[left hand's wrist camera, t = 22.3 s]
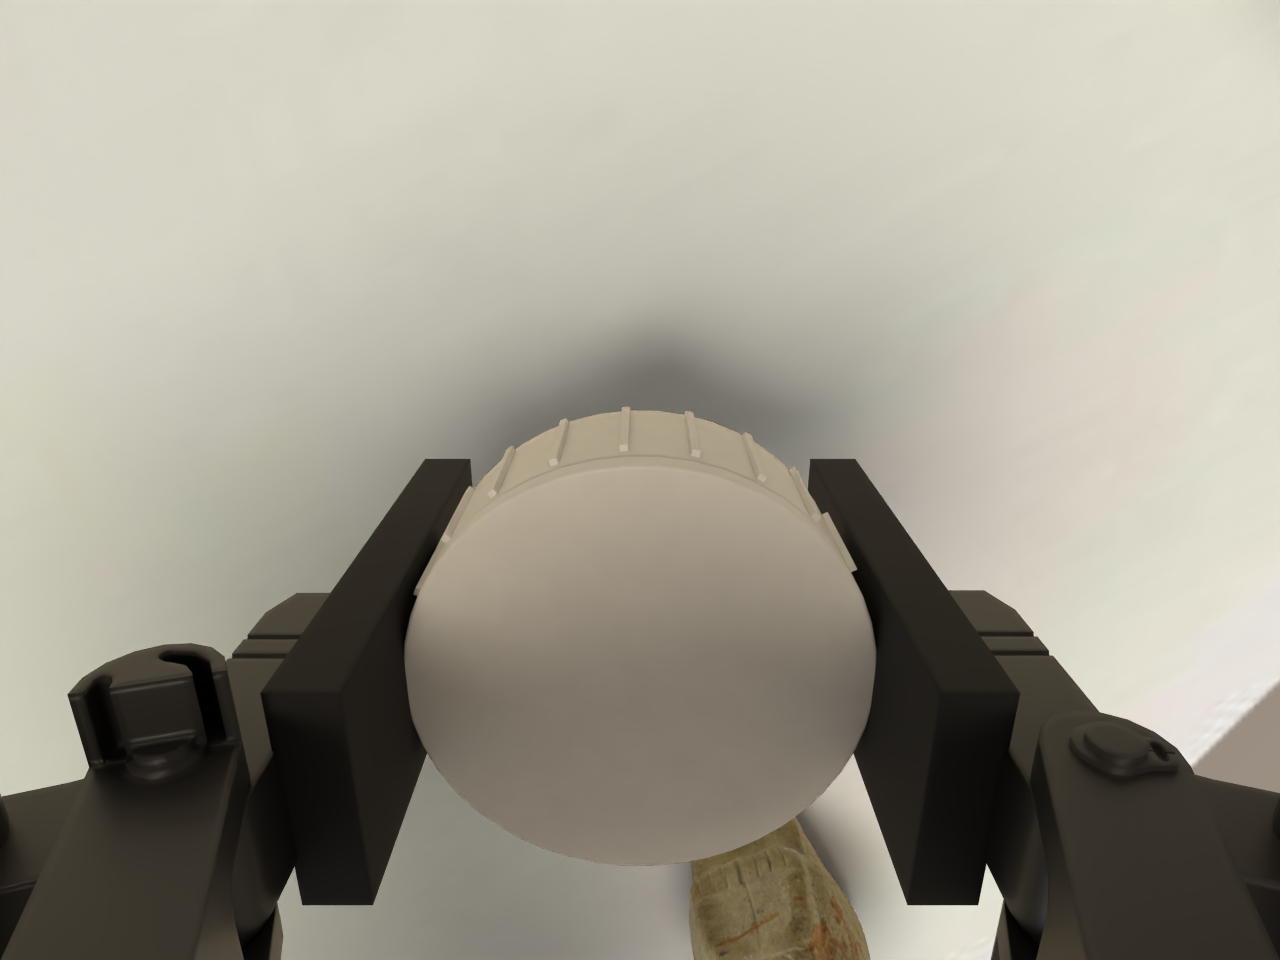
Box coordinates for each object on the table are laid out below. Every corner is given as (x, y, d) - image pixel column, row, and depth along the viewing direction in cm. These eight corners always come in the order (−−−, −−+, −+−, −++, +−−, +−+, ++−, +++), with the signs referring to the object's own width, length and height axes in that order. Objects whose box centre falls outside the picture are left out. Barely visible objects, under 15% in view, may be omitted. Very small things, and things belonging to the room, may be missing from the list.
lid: (810, 772, 13) (840, 883, 11) (438, 748, 13) (401, 856, 11) (877, 421, 11) (930, 480, 9) (434, 388, 11) (387, 441, 9)
